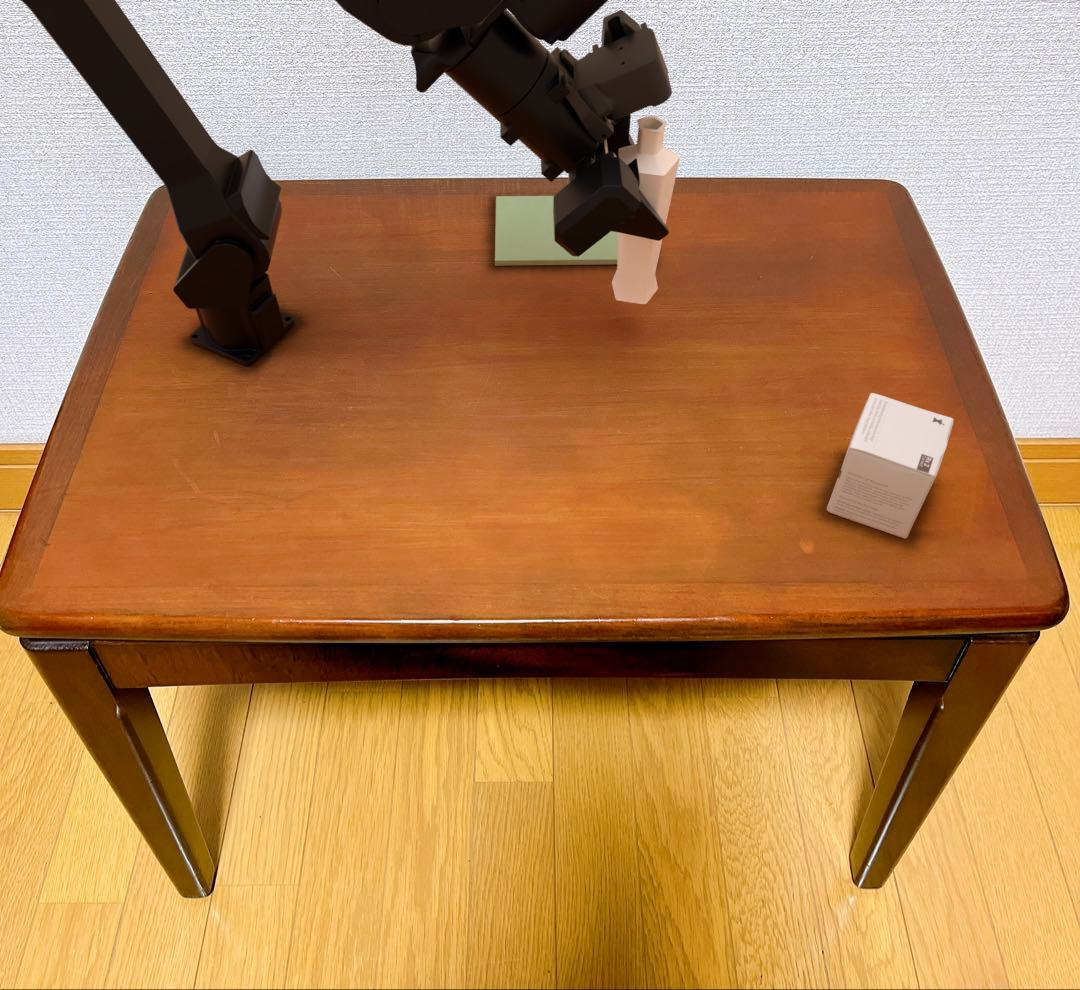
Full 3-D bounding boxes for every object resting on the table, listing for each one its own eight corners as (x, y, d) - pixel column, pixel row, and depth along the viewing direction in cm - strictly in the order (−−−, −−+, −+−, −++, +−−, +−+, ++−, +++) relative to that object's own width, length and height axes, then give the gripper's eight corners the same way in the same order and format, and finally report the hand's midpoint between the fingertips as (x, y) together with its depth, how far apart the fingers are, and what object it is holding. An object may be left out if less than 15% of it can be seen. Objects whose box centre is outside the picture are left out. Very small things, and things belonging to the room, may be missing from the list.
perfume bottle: (667, 305, 83) (691, 139, 71) (614, 309, 82) (629, 142, 71) (657, 270, 86) (678, 105, 74) (605, 273, 85) (618, 108, 74)
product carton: (845, 457, 78) (869, 389, 72) (925, 483, 76) (956, 415, 70) (824, 513, 74) (848, 446, 69) (907, 542, 73) (938, 475, 67)
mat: (495, 265, 93) (494, 260, 92) (496, 201, 99) (496, 196, 98) (647, 264, 93) (648, 258, 92) (639, 199, 99) (639, 194, 99)
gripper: (616, 72, 60) (767, 228, 68) (597, -63, 71) (729, 85, 80) (486, 188, 66) (641, 318, 74) (489, 46, 77) (622, 173, 86)
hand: (661, 217), depth 79 cm, fingers closed on perfume bottle, 4 cm apart
